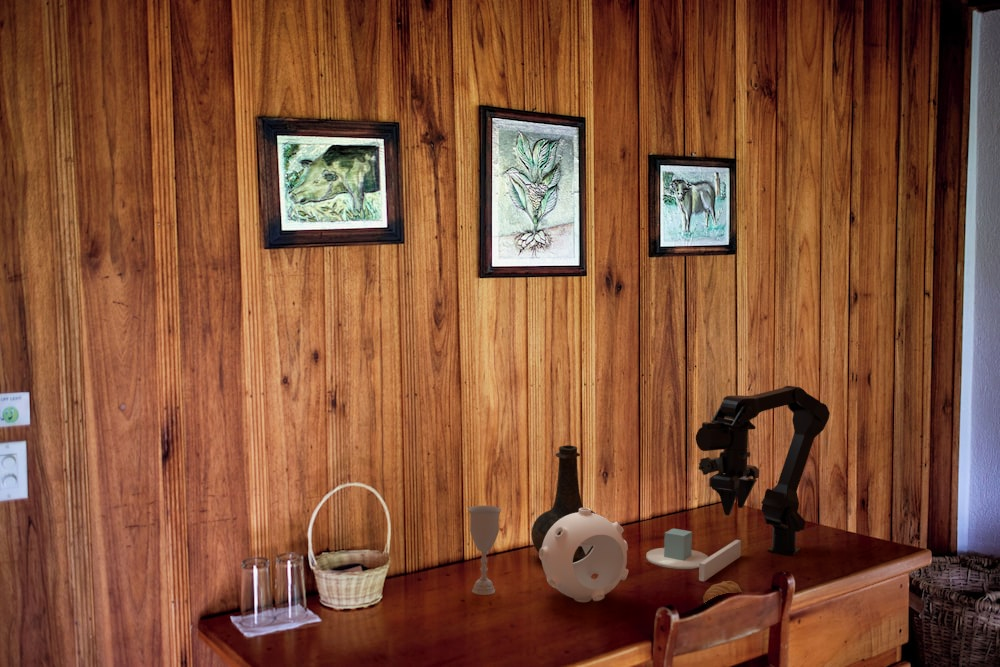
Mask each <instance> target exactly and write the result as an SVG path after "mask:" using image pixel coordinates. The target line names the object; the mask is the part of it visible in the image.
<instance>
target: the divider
mask: <svg viewBox="0 0 1000 667" xmlns="http://www.w3.org/2000/svg"><path fill="white" fill-rule="evenodd" d="M741 550H742V541H741V540H740V539H734V540H733V541H732V542H730V543H729V544H727V545H726V546H724V547H722V548H721V549H719V550H718V551H716V552H715V553H713V554H711V555H709V556H708V558H707V559H705V560H704V561H702V562H701V563H699V568H698V581H699V582H706V581H707V580H709V579H710V578H711V577H712V576H714V575H716V574H717V573H719V572H720V571H722V570H723V569H724V568H726V567H727V566H729V565H730V564H732V563H733V562H734V561H736V560H738V559H739V558H740V557H741V552H742V551H741Z"/></svg>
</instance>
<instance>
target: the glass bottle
mask: <svg viewBox="0 0 1000 667" xmlns="http://www.w3.org/2000/svg"><path fill="white" fill-rule="evenodd" d="M580 455H581V454H580V453H579V452H578V447H577V446H575V445H571V444H569V445H568V444H567V445H561V446H559V447H558V452H556V453H555V456H556V458H558V471H557V473H558V474H557V482H556V484H557V485H556V490H555V491H556V492H555V498H554V503H553V506H552V507H551V509H550V510H547V511H544V512H543V513H541V514H540V515H539V516H538V517H537V518H536V519H535V521H534V523H533V525H532V528H531V541H532V544H533V546H534V548H535V550H536V551H537V553H538V554H539V550H540V548H542V545H543V541H544V538H545V536H546V534H547V532H548V531H549V529H550V528H551V527H552V526H553V525H554V524H555V523H556V522H557V521H558V520H559V519H561V518H563V517H564V516H567V515H569V514H572V513H577V512H579V509H580V508H584V506H583V503H582V498H581V493H580V487H579V486H580V485H579V471H578V457H580ZM591 513H594V514H597V513H596V512H595V511H593V510H592V509H591ZM558 535H561V531H560V532H559V533H558ZM558 535H557V536H558ZM592 548H593V546H592V547H591V548H590V550H589V551H588V553H587V554H585V552H584V550H583V548H582V546H578V548H577V549H576V551H575V554H574V557H573V563H574V562H577V561H580V560H581V559H583V558H585V557H586V556H587V555H588V554H589V553H590V552H591V550H592Z"/></svg>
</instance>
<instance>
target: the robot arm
mask: <svg viewBox="0 0 1000 667" xmlns="http://www.w3.org/2000/svg"><path fill="white" fill-rule="evenodd" d="M784 406H787V408H788V409H789V410H790V411H791V412H792V413H793V415H792V420H791V421H792V425H793V430H794V433H793V436H792V439H791V441H790V445H789V448H788V451H787V454H786V457H785V461H784V464H783V466H782V468H781V472H780V474H779V478H778V481H777V484H776V485H775V486H774V487H773V488H772V489H771V488H767V489H766V490H765V492H764V497H763V499H762V501H761V504H762V505H761V513H762V515H763V517H764V520H765V524H766V525H770V526H772V543H771V544H772V545H771V546H770V547H769V548H767V552H770V553H776V554H780V555H781V554H782V555H786V556H794V555H796V554H798V552H800V551H801V547H797V533H798V532H801V531H804V530H805V526H806V521H805V519H804V518H803V517H802V515H801V514H800V513H799V508H800V507H799V506H800V502H799V501H800V500H799V497H798V488H799V486H800V483H801V480H802V476H803V474H804V471H805V467H806V464H807V461H808V458H809V455H810V454H811V453H810V452H811V449H812V446H813V443H814V440H815V438H816V437H817V436H818V435H819V434H820V433H822V432H823V431H824V429H825V427H826V426H827V423H828V421H829V420H830V419H829V418H830V414H831V411H830V410H829V408H828V406H827V404H826V403H824V402H821V401H820V400H819V399H817V398H815V397H814V396H812V395H810V393H808V392H807V391H806V390H804V388H802V387H800V386H795V385H794V386H793V385H785V386H783V387H780V388H778V389H777V388H776V389H772V390H769V391H765V392H762V393H761V392H760V393H756V394H753V395H739V394H738V395H737V394H736V395H726V396H724V397H723V399H722V401H721V403H720V406H719V407H718V409H717V410H716V412H715V414H714V416H713V417H712V419H711V422H707V421H703V422H702V423H701V427H700V428H699V429H698V430H697V432H696V434H695V443H696V445H697V447H698V448H699V450H700V451H703V452H709V451H711V452H712V451H720V450H723V451H721V452H720V453H719V456H718V457H713V458H710V457H708V456H707V457H703V458H701V459H700V462H699V463H698V465H699V466H698V470H700V471H701V472H702V475H703V476H706V475H708V474H710V473H715V474H714V475H712V476H711V477H710V478H709V482H708V486H709V487H710V488H711V489H712V490H714V491H715V492H716V493H717V494H718V496H719V499H720V502H721V506H722V510H723V513H724V514H723V515H725V516H728V517H729V516H730V515H731V514H732V511H733V510H732V509H733V507H734V505H735V502H736V504H737V508H738V509H743V507H744V506H745V504H746V501H747V500H748V497H749V496H750V494H751V492H752V490H753V488H754V486H755V485H756V483H757V480H758V478H760V469H759V468H758V467H757V466H756V465H749V464H748V458H749V457H751V451H748V450H749V430H751V431H752V430H756V425H754V424H753V423H752V422H751V420H753V419H755V418H756V417H758V415H759V414H760V413H762V412H765V411H769V410H773V409H777V408H780V407H784ZM716 472H717V473H716Z"/></svg>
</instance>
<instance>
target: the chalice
mask: <svg viewBox="0 0 1000 667" xmlns="http://www.w3.org/2000/svg"><path fill="white" fill-rule="evenodd" d="M467 510H468V512H469V514H470V516H469V518H470V519H469V522H470V523H469V532H470V535H471V538H472V541H473V543H474V545H475V547H476V549H477V551H479V552H481V559H480V560H479V561H480V562H481V566H480V568H479V570H480V571H481V576H480V577H479V578H478V579H477V580H476V581H475V584H474V585H473V588H472V590H471V592H472V593H473V594H476V595H481V596H486V595H487V596H488V595H492V594H494V593H495V592H496V589H495V587H494V585H493V581H492V580H490V579H489V578H488V577H487V572H488V570H489V568H488V567H487V562H489V561H488V558H487V554H488V552H490V551H491V550H492V548H493V547H494V544H495V542H496V540H497V538H498V535H499V532H500V531H499V530H500V528H499V527H500V513H501V511H502V508H500V507H497V506H493V505H474V506H473V505H472V506H470V507H468V508H467Z"/></svg>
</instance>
